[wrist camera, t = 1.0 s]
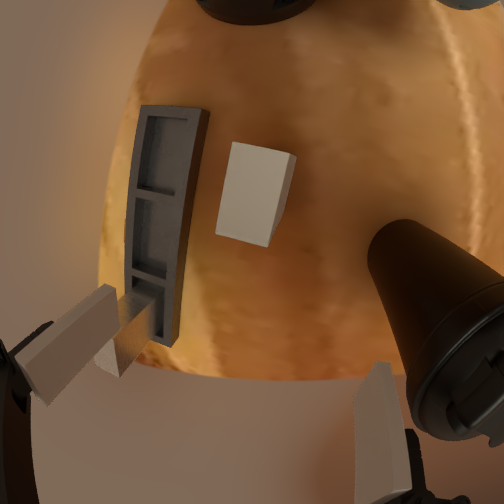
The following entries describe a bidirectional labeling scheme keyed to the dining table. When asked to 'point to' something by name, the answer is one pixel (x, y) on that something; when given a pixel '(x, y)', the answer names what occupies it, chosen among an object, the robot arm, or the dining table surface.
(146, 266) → the rack
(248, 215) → the block
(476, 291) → the water bottle
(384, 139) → the dining table surface
